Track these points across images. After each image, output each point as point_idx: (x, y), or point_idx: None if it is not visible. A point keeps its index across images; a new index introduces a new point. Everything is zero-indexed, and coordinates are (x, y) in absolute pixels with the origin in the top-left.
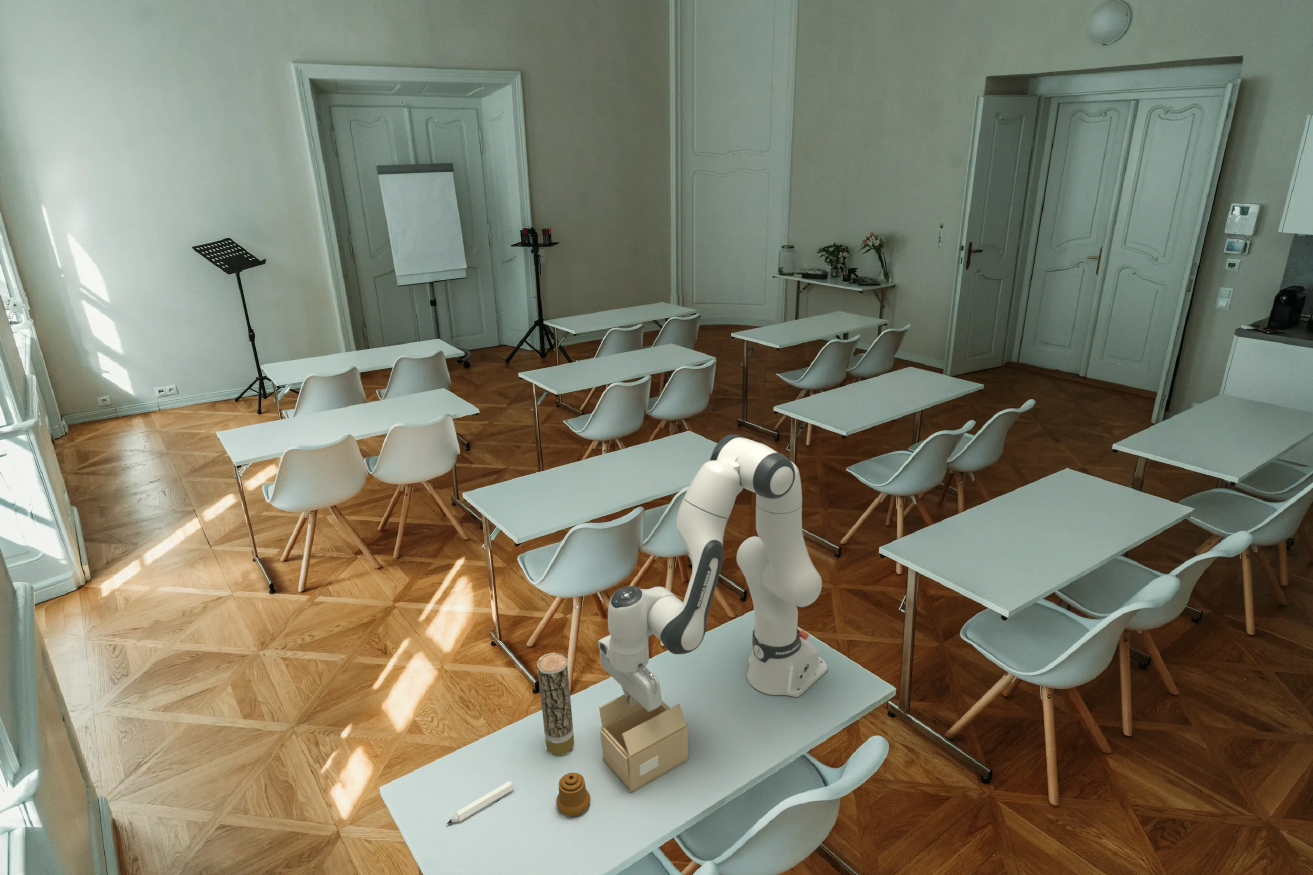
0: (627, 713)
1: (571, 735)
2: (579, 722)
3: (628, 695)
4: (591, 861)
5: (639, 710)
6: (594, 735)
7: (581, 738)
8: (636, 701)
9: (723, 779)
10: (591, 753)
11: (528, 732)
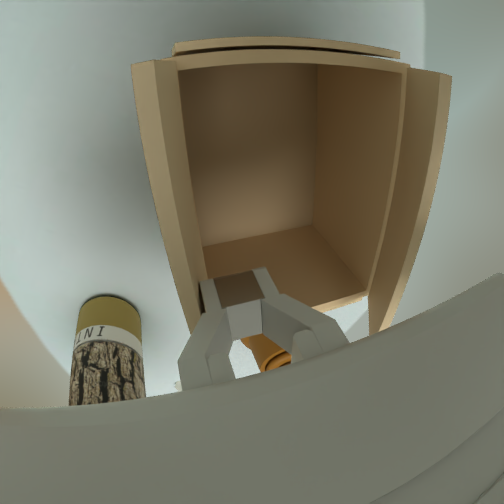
0: (202, 255)
1: (129, 334)
2: (44, 266)
3: (229, 333)
4: (363, 310)
5: (191, 183)
6: (97, 247)
7: (98, 276)
8: (271, 281)
9: (406, 39)
10: (156, 268)
11: (59, 350)
